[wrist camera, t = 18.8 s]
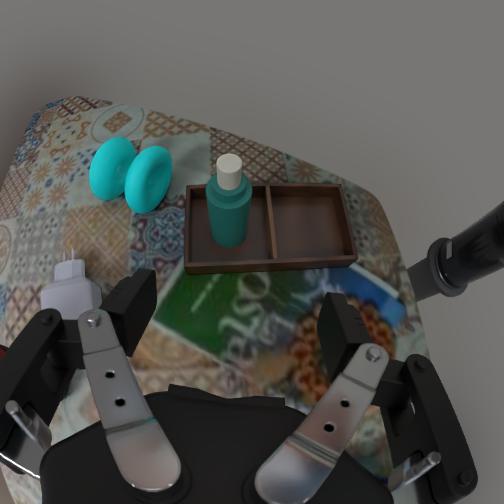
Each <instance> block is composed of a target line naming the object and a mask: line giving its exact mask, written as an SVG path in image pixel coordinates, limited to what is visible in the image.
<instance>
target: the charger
mask: <svg viewBox="0 0 504 504" xmlns="http://www.w3.org/2000/svg"><path fill="white" fill-rule="evenodd" d="M101 304H102V297H101V288H100V287H99V286H97V285H96V284H95V283H94V282H92V281H91V280H89V279H87V278H86V277H85V263H84V260H75V249H72V260H69V261H66V251H63V262H61V263H58V264H57V265H56V266H55V283H51V284H47V285H45V287H44V288H43V290H42V291H41V310H43V309H47V308H54V309H57V310H58V311H59V312H60V313H61V316H62V319H68V320H78V318H79V316H80V315H81V314H82V313H84V312H85V311H88V310H91V309H98V308H99V307H100V305H101Z"/></svg>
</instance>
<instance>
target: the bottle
mask: <svg viewBox="0 0 504 504" xmlns="http://www.w3.org/2000/svg"><path fill="white" fill-rule="evenodd" d="M206 196H207V204H208V212H209V219H210V226H211V233H212V237H213V239H214V241H215V242H216V243H217V244H218V245H220V246H222V247H225V248H233V247H236V246H238V245H240V244H241V243H242V242H243V241H244V240H245V238H246V234H247V227H248V219H249V212H250V204H251V197H252V185H251V183H250V181H249V179H248V178H247V177H246V176H245V175H244V174H243V173H242V161H241V159H240V158H239V157H238V156H237V155H235V154H224V155H222V156H220V157H219V158H218V160H217V172H216V173H215V174H214V176H213V177H212V178H211V179H210V180H209V181H208V183H207V186H206Z"/></svg>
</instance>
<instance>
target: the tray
mask: <svg viewBox="0 0 504 504" xmlns="http://www.w3.org/2000/svg"><path fill="white" fill-rule="evenodd" d="M251 185H252V197H251V204H250V212H249V219H248V227H247V234H246V238H245V240H244V241H243V242H242V243H241V244H240V245H238V246H236V247H233V248H225V247H222V246H220V245H218V244H217V243H216V242H215V241H214V239H213V237H212V233H211V226H210V219H209V212H208V204H207V196H206V186H207V184H205V185H187V186H186V206H185V233H184V268H185V270H186V272H187V274H188V275H195V274H221V273H244V272H265V271H284V270H302V269H319V268H335V267H349V266H350V265H351V264H352V263H354V262H355V261H356V260H357V259H358V255H357V250H356V245H355V241H354V236H353V231H352V227H351V222H350V218H349V214H348V210H347V206H346V202H345V198H344V194H343V190H342V186H341V184H324V183H251Z"/></svg>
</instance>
